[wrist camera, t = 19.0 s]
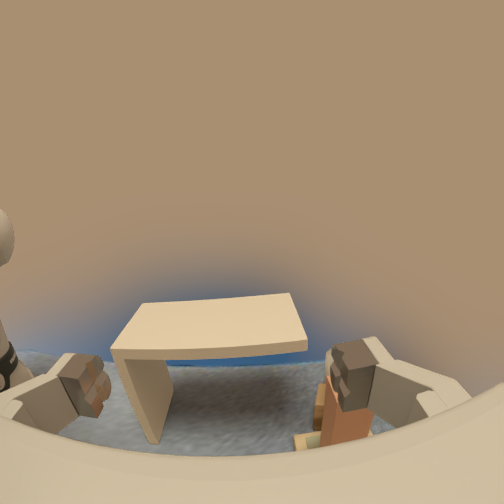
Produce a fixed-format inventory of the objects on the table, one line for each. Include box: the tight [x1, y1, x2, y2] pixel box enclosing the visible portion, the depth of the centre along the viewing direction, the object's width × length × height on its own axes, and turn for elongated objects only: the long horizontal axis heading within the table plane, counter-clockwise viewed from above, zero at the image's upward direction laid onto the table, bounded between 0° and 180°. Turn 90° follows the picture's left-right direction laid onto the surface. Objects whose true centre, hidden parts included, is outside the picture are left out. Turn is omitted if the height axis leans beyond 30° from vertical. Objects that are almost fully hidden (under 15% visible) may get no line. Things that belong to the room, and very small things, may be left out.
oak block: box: [313, 383, 326, 431], centre depth 38 cm, size 5×5×6 cm
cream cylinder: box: [324, 349, 334, 384], centre depth 43 cm, size 4×4×9 cm
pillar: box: [319, 375, 374, 447], centre depth 28 cm, size 4×4×13 cm
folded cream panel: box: [110, 293, 308, 445], centre depth 40 cm, size 14×24×18 cm, turn 92°
